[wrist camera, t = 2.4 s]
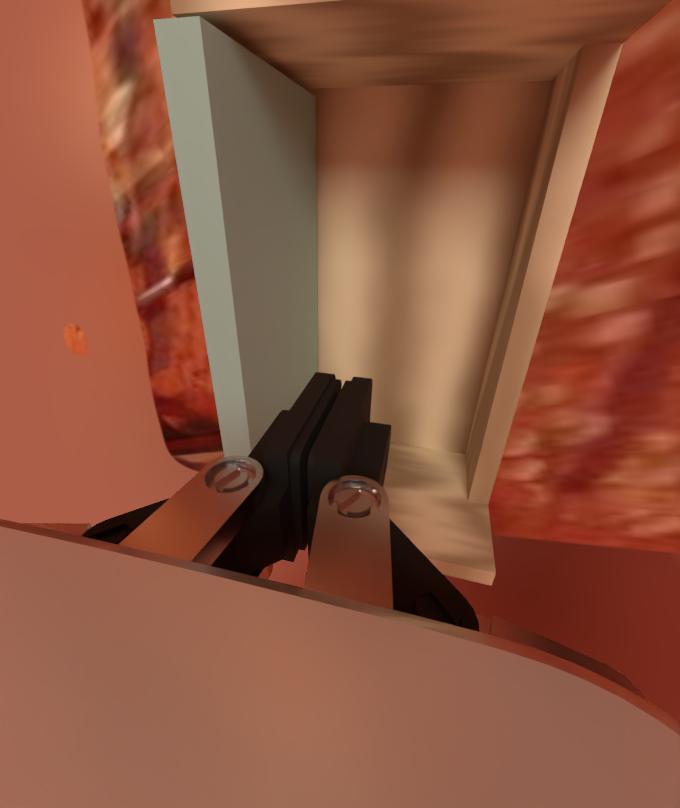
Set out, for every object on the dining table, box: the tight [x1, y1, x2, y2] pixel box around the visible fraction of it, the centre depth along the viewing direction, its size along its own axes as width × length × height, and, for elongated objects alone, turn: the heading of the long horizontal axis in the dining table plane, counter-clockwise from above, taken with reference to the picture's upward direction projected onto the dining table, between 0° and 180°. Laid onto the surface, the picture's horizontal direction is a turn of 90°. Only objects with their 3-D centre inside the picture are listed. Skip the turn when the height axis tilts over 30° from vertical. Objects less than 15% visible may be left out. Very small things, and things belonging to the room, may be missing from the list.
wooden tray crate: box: [170, 0, 671, 585], centre depth 21 cm, size 14×23×13 cm, turn 178°
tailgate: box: [153, 16, 318, 457], centre depth 20 cm, size 2×21×11 cm, turn 178°
